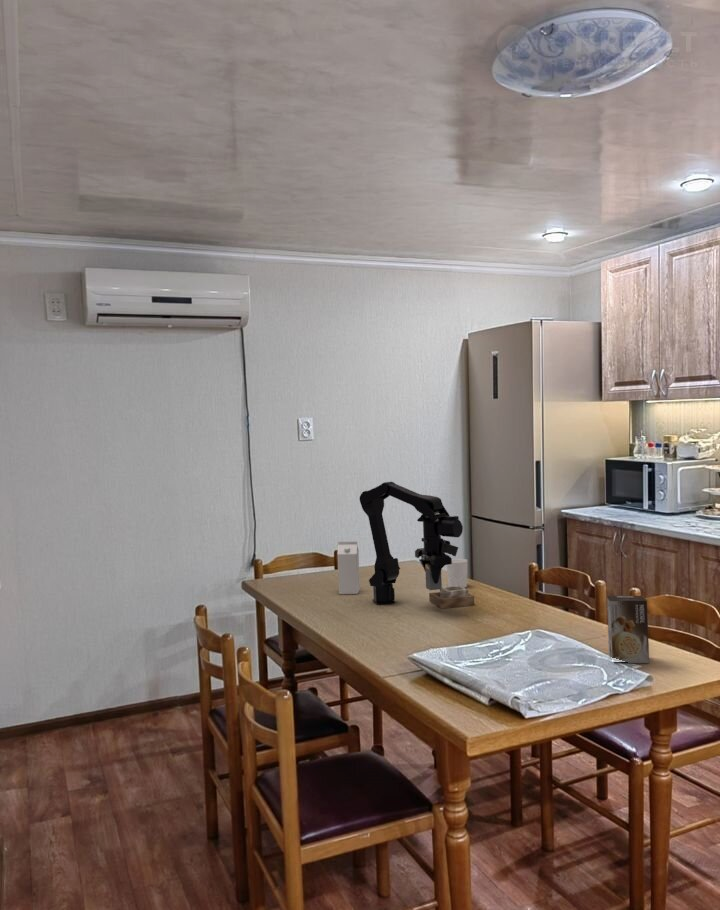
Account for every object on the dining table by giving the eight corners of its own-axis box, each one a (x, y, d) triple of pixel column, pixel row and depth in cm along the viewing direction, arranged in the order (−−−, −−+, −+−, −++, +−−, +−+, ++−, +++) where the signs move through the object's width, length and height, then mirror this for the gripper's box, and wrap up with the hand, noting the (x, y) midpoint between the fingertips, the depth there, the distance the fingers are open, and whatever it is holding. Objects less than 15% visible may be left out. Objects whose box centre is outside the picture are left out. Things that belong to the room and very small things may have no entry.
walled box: (441, 608, 255) (440, 593, 255) (429, 601, 266) (429, 587, 265) (474, 605, 258) (473, 590, 258) (461, 598, 269) (461, 584, 269)
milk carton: (341, 590, 288) (339, 540, 287) (359, 590, 288) (358, 539, 287) (338, 594, 281) (337, 543, 280) (358, 594, 280) (356, 542, 280)
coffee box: (644, 656, 198) (643, 594, 197) (649, 664, 192) (648, 600, 191) (608, 655, 200) (606, 594, 199) (611, 663, 193) (610, 600, 193)
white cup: (472, 587, 286) (471, 560, 286) (456, 590, 282) (455, 563, 282) (459, 583, 293) (458, 557, 292) (442, 586, 289) (442, 560, 288)
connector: (430, 590, 250) (429, 566, 250) (426, 587, 254) (425, 564, 254) (441, 589, 252) (441, 565, 251) (437, 586, 255) (436, 563, 255)
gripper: (466, 537, 245) (467, 585, 246) (444, 530, 263) (445, 575, 264) (433, 539, 242) (435, 588, 243) (413, 532, 260) (415, 577, 261)
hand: (433, 582), depth 253 cm, fingers closed on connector, 4 cm apart
